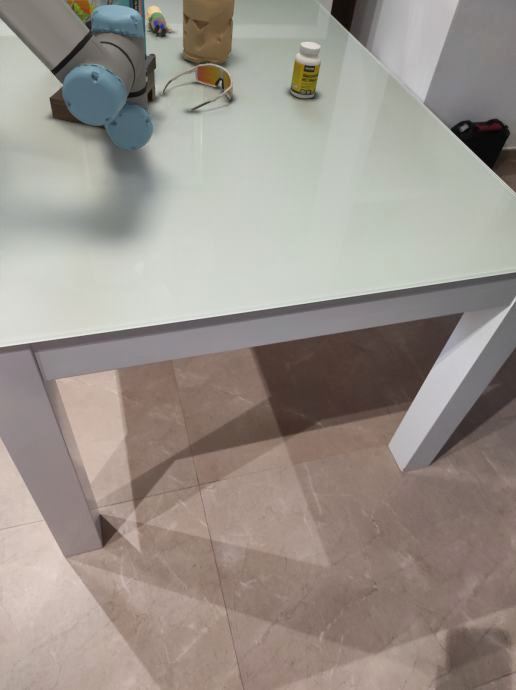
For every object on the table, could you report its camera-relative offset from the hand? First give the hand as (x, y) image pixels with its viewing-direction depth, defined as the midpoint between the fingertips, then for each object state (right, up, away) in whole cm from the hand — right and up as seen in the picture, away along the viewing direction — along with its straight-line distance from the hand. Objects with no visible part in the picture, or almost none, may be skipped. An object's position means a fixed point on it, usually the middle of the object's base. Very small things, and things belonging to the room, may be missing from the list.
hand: (98, 47), depth 105 cm
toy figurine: (+4, +29, +41) cm, 50 cm away
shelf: (0, -10, +6) cm, 11 cm away
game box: (-4, +6, +20) cm, 21 cm away
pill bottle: (+44, +1, +22) cm, 49 cm away
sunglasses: (+19, -3, +15) cm, 24 cm away
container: (+19, +14, +30) cm, 39 cm away
